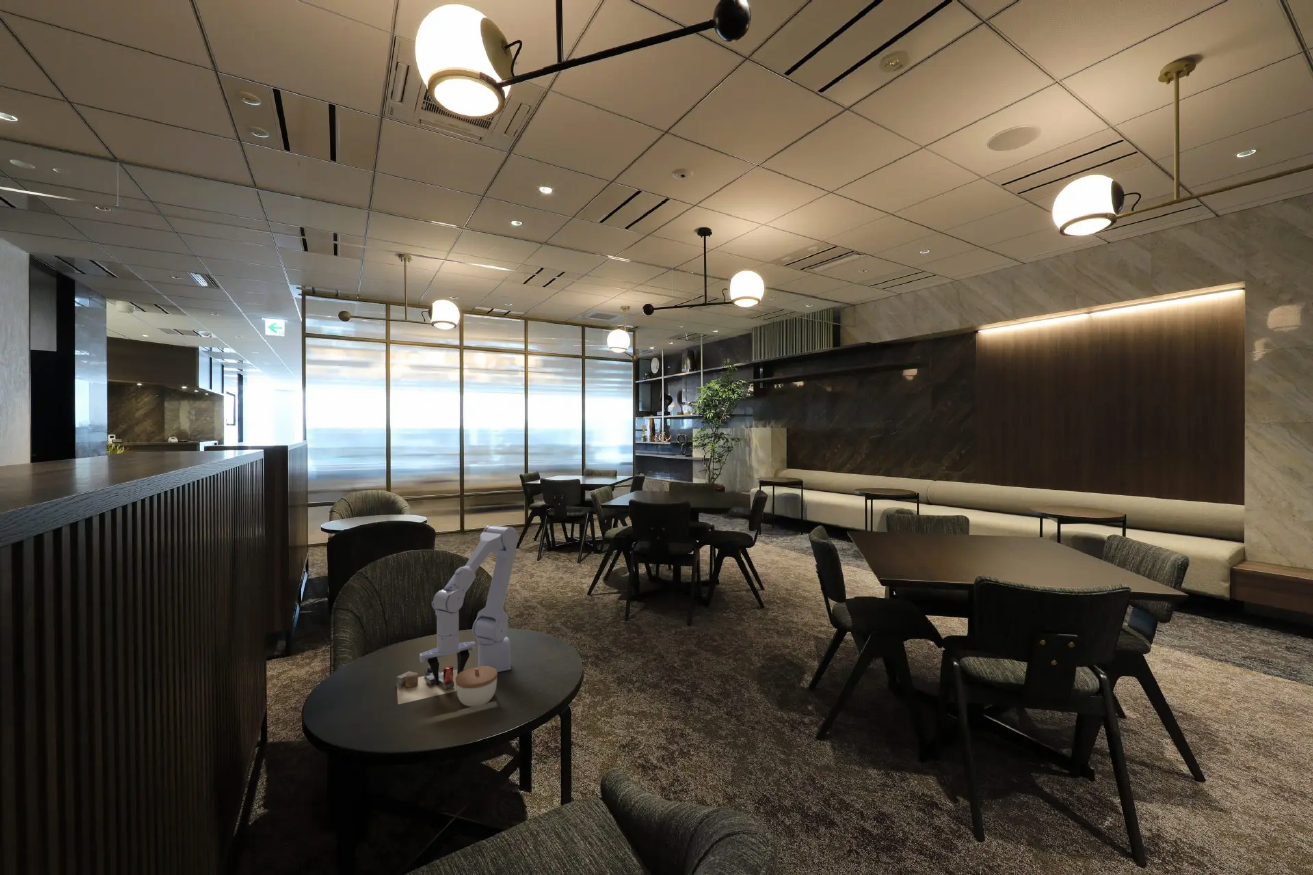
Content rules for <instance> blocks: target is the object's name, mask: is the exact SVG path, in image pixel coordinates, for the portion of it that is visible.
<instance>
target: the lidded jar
mask: <svg viewBox="0 0 1313 875" xmlns="http://www.w3.org/2000/svg"><path fill="white" fill-rule="evenodd" d="M497 685H498V672H497V670H496V669H495V668H493V667H490V666H478V665H477V666H473V667H469V668H465V669H464V670H463V671H462V672H460V673H459V674H458V675H457V676H456V690H457V691H456V695H457V697H458V698H457V699H458V700H459V701H460V703H461V704H462V705H464V706H466V707H467V709H470V710H476V709H480V708H481V709H482V708H484V707H485V706H487V705H488V704H489V702H490V700H492V698H493V697H494V695H495V693H496V691H497Z"/></svg>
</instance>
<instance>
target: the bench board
mask: <svg viewBox="0 0 1313 875" xmlns="http://www.w3.org/2000/svg"><path fill="white" fill-rule="evenodd" d="M426 669H427V670H428V671H431V670H432V669H431V667H430V665H428V666H427V667H426ZM409 673H413V671H406V672H404V673H402V674H400V675H398V676H396V690H397V693H396V694H397V706H398V705H402V704H407V703H412V702H416V701H419V700H423V699H428V698H433V697H437V696H441V695H442V696H443V695H446V694H451V693H454V692H457V690H456V676H457V669H456V668H455V669H453V681H454V687H452V688H450V689H447V690H445V689H444V688H442V687H441V686H439V685H436V684H432V685H429V684H428V683H427V682H426V678H425V677H424V675H423V676H418V685H417V686H416V687H414V688H406V675H407V674H409ZM440 673H442V674H443V671H442V672H440Z"/></svg>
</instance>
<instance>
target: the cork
mask: <svg viewBox="0 0 1313 875" xmlns="http://www.w3.org/2000/svg"><path fill="white" fill-rule="evenodd" d="M412 672H413V671H412ZM418 677H419V674H418V672H413V673H409V674H407V675H406V688H414V687H416V686H417V685H418Z"/></svg>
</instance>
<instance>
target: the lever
mask: <svg viewBox="0 0 1313 875" xmlns="http://www.w3.org/2000/svg"><path fill="white" fill-rule="evenodd" d="M453 670H454V666H453V665H446V666H444V667H443V668H442V672H443V674H442V673H441V672H440V671H439V686H441V687H442V688H444V689H445V690H447V689H450V688H452V687H454V681H453ZM423 676H424V677H425V678H426V682H427V683H428V684H429V685H432V684H435V679H434V675H433V672H432V670H431V671H428V670H427V668H426V669H424V670H423Z"/></svg>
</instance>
